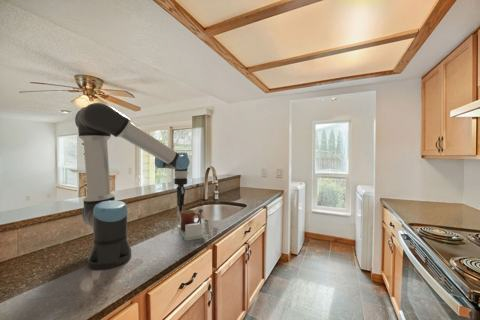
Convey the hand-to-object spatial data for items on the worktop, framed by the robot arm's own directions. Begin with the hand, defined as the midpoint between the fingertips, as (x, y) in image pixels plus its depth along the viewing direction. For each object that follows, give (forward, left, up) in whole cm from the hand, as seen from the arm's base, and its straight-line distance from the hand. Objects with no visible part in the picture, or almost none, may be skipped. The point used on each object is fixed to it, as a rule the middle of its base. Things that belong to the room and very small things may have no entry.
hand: (179, 216), depth 123 cm
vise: (+3, -11, -7) cm, 13 cm away
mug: (+3, -11, -5) cm, 13 cm away
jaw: (+3, -2, -5) cm, 6 cm away
